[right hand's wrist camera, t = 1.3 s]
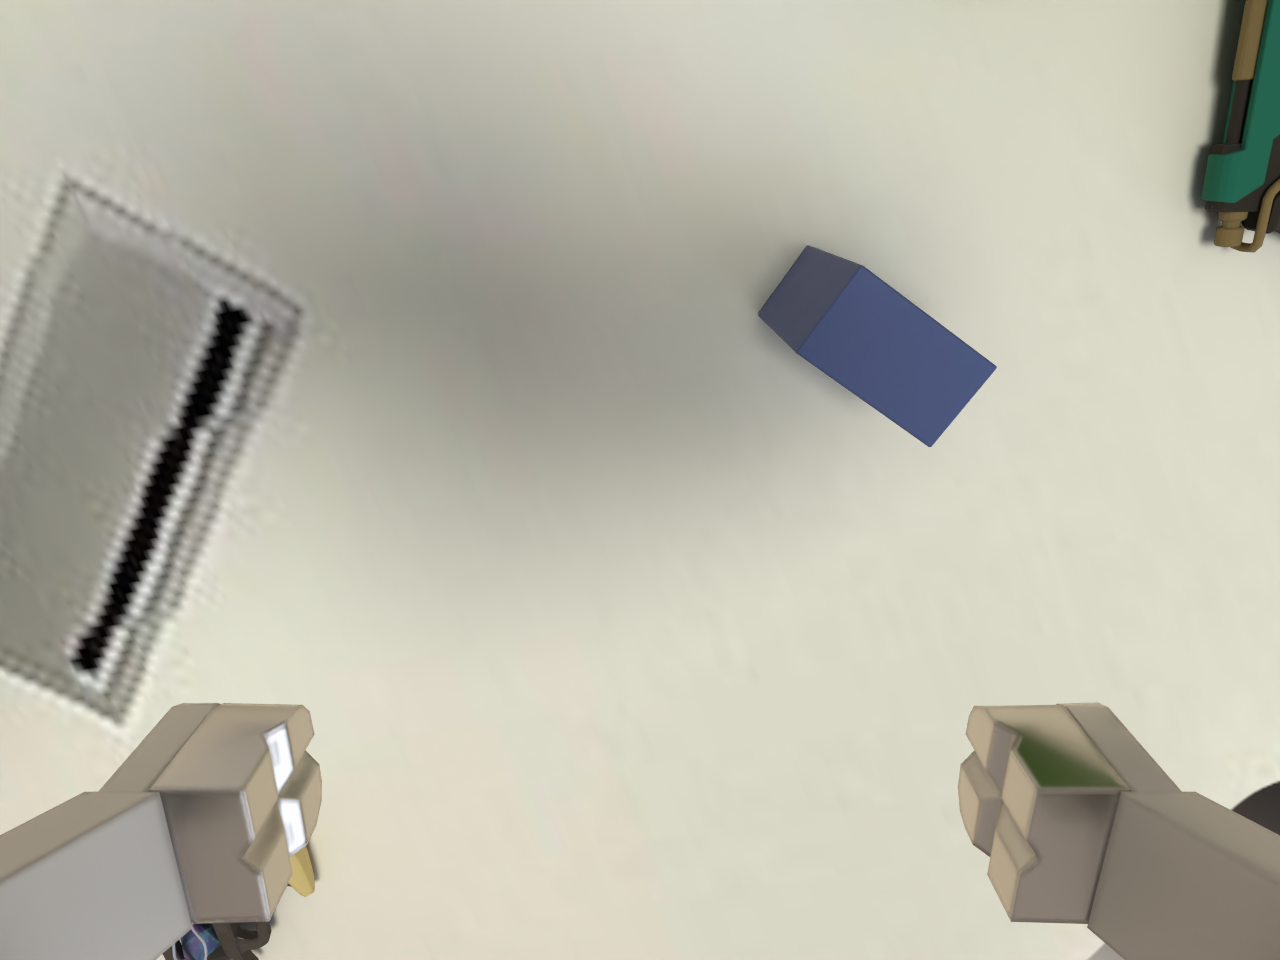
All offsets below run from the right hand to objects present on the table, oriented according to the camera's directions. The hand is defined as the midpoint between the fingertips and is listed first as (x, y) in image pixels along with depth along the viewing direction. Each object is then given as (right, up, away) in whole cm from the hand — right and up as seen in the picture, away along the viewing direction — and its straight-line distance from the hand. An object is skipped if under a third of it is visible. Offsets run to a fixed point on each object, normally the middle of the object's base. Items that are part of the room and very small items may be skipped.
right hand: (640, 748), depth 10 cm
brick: (+10, +11, +32) cm, 35 cm away
